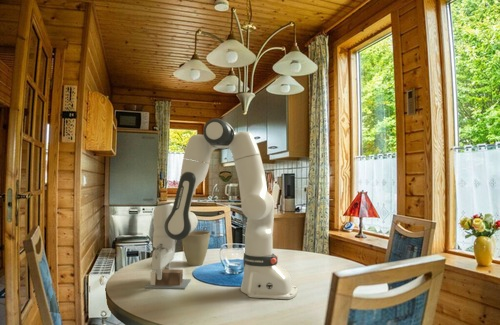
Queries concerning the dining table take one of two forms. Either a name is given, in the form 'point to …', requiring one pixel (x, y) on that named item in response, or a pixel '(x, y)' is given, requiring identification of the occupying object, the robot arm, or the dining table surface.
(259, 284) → the robot arm
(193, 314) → the dining table surface
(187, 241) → the plant pot
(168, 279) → the walnut block
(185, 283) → the grey mat
